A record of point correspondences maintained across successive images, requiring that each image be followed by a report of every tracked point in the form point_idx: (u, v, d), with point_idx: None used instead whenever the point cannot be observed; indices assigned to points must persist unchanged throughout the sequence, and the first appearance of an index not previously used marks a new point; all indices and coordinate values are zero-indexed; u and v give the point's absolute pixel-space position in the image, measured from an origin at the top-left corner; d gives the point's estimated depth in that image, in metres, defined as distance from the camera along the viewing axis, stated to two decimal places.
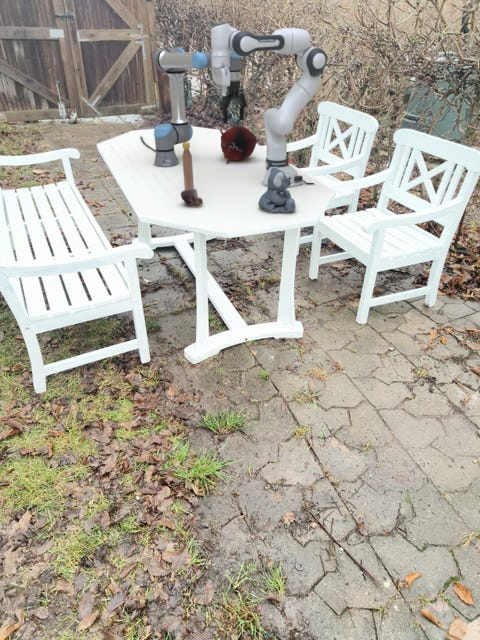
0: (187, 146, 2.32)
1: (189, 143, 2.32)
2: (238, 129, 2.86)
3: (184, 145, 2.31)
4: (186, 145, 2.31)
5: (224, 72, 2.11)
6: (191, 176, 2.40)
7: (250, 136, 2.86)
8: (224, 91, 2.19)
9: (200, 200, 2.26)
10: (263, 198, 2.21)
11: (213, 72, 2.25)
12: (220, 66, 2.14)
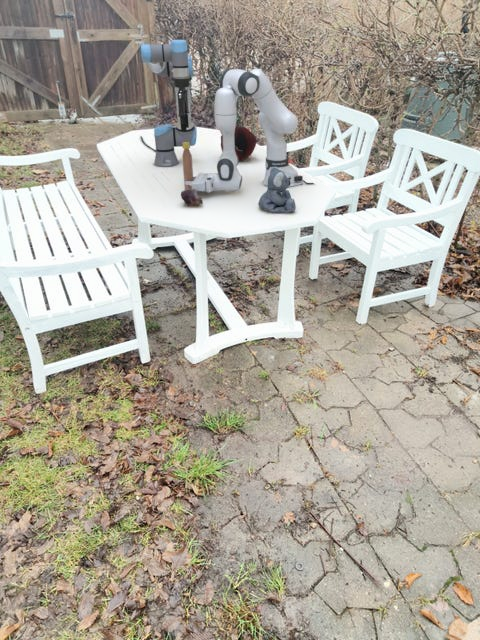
0: (187, 146, 2.32)
1: (189, 143, 2.32)
2: (238, 129, 2.86)
3: (184, 145, 2.31)
4: (186, 145, 2.31)
5: None
6: (191, 176, 2.40)
7: (250, 136, 2.86)
8: None
9: (200, 200, 2.26)
10: (263, 198, 2.21)
11: None
12: None
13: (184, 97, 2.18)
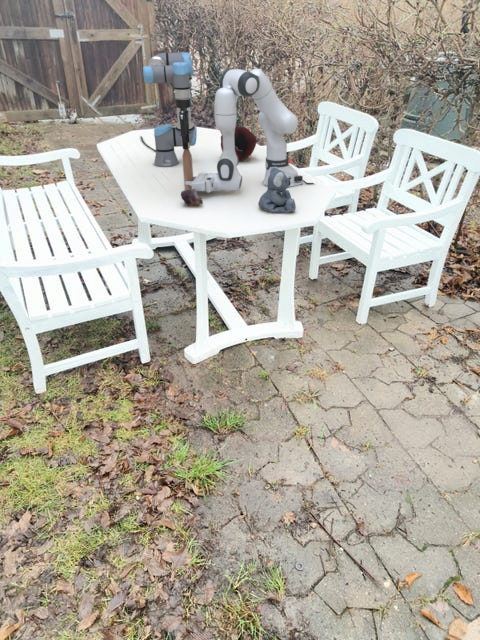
0: None
1: (189, 143, 2.32)
2: (238, 129, 2.86)
3: None
4: None
5: None
6: (191, 176, 2.40)
7: (250, 136, 2.86)
8: None
9: (200, 200, 2.26)
10: (263, 198, 2.21)
11: None
12: None
13: (186, 117, 2.23)
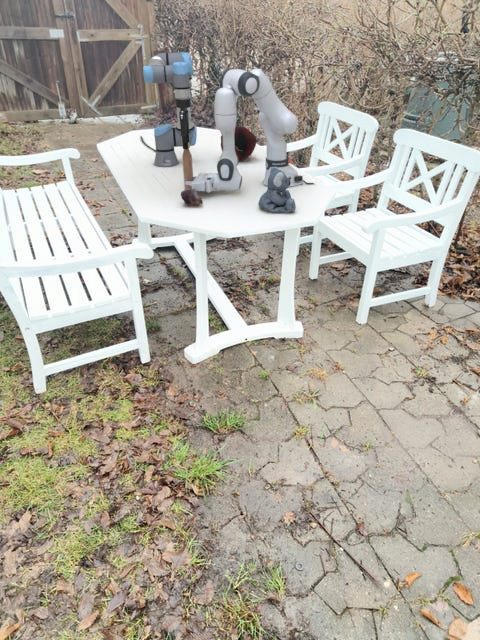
0: None
1: None
2: (238, 129, 2.86)
3: (189, 144, 2.33)
4: None
5: None
6: (191, 176, 2.40)
7: (250, 136, 2.86)
8: None
9: (200, 200, 2.26)
10: (263, 198, 2.21)
11: None
12: None
13: (186, 117, 2.23)
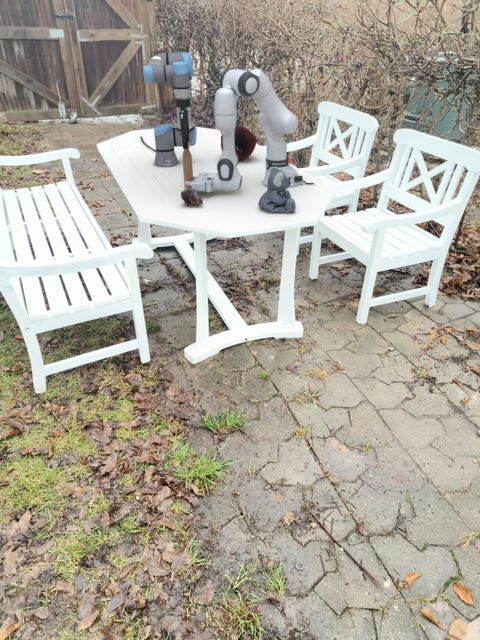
0: None
1: (182, 143, 2.31)
2: (238, 129, 2.86)
3: None
4: None
5: None
6: (191, 176, 2.40)
7: (250, 136, 2.86)
8: None
9: (200, 200, 2.26)
10: (263, 198, 2.21)
11: None
12: None
13: (186, 117, 2.23)
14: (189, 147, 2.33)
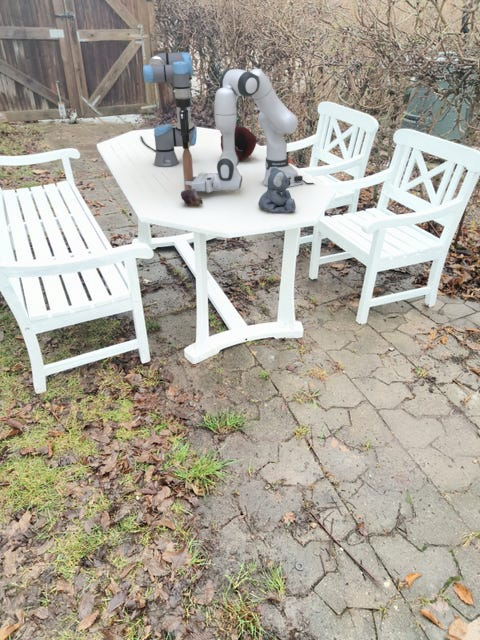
0: None
1: (188, 143, 2.31)
2: (238, 129, 2.86)
3: None
4: None
5: None
6: (191, 176, 2.40)
7: (250, 136, 2.86)
8: None
9: (200, 200, 2.26)
10: (263, 198, 2.21)
11: None
12: None
13: (186, 117, 2.23)
14: None
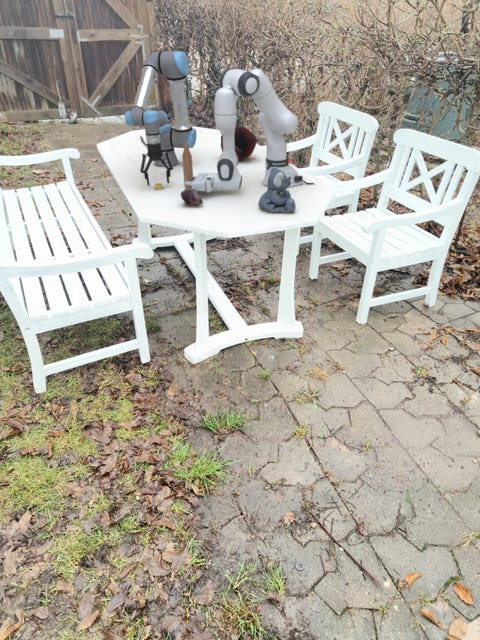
0: None
1: None
2: (238, 129, 2.86)
3: (161, 186, 2.52)
4: (161, 185, 2.53)
5: None
6: (191, 176, 2.40)
7: (250, 136, 2.86)
8: None
9: (200, 200, 2.26)
10: (263, 198, 2.21)
11: None
12: None
13: None
14: None
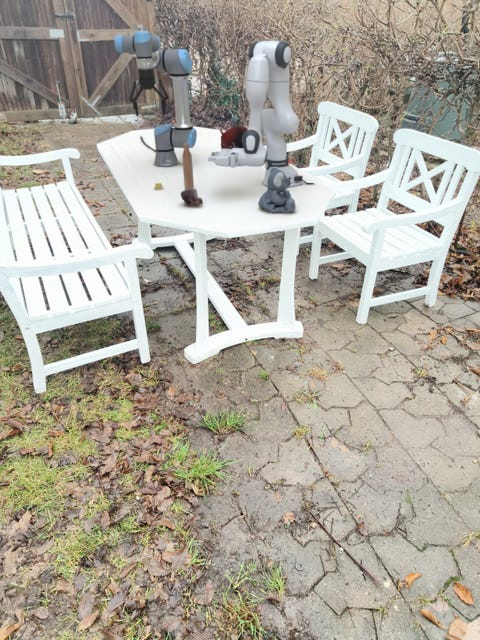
0: None
1: None
2: (238, 129, 2.86)
3: (161, 186, 2.52)
4: (161, 185, 2.53)
5: None
6: (191, 176, 2.40)
7: None
8: None
9: (200, 200, 2.26)
10: (263, 198, 2.21)
11: None
12: None
13: None
14: None
